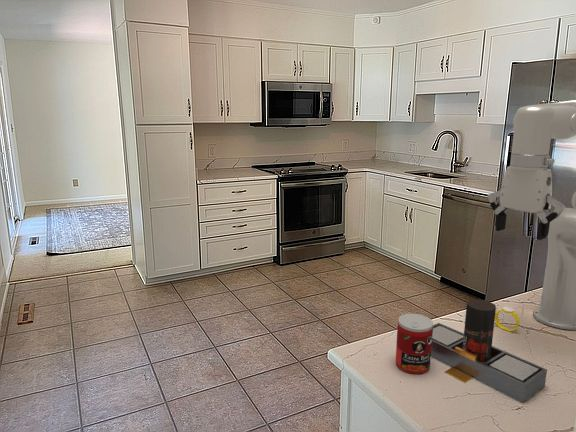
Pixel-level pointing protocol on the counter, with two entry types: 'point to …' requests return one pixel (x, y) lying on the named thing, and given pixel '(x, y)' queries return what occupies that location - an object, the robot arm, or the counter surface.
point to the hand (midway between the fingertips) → (520, 234)
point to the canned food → (414, 343)
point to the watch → (510, 311)
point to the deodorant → (479, 328)
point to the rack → (487, 366)
